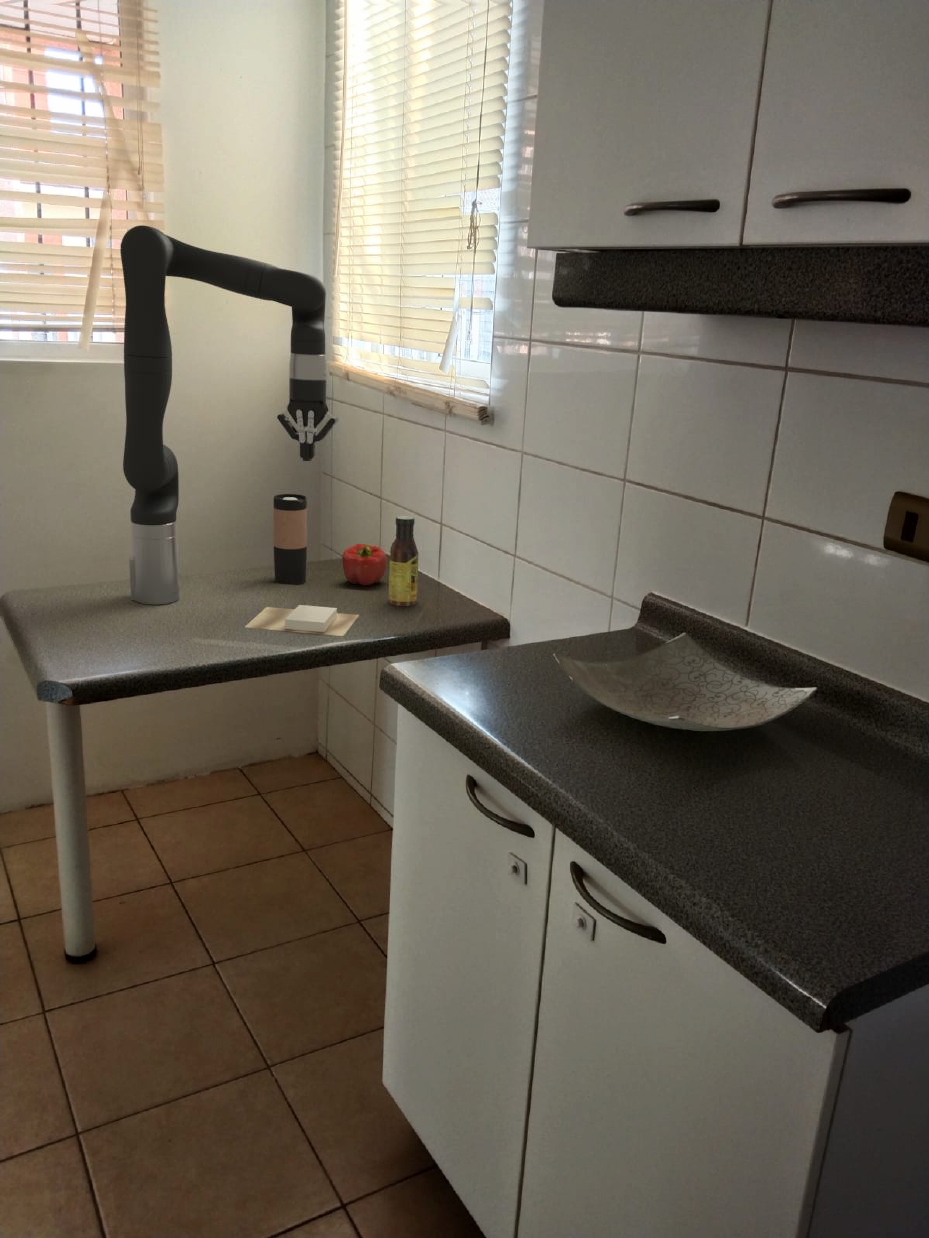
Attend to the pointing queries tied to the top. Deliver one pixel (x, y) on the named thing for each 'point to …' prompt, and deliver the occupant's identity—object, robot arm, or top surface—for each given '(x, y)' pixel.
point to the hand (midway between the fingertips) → (307, 460)
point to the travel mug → (290, 538)
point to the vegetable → (364, 564)
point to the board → (276, 621)
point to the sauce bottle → (403, 564)
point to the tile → (311, 618)
